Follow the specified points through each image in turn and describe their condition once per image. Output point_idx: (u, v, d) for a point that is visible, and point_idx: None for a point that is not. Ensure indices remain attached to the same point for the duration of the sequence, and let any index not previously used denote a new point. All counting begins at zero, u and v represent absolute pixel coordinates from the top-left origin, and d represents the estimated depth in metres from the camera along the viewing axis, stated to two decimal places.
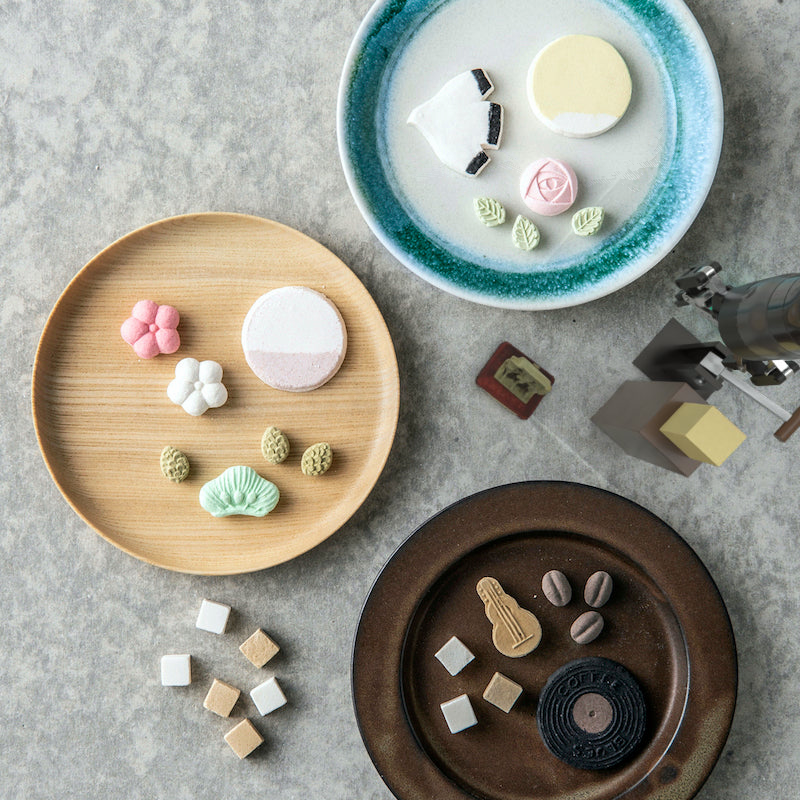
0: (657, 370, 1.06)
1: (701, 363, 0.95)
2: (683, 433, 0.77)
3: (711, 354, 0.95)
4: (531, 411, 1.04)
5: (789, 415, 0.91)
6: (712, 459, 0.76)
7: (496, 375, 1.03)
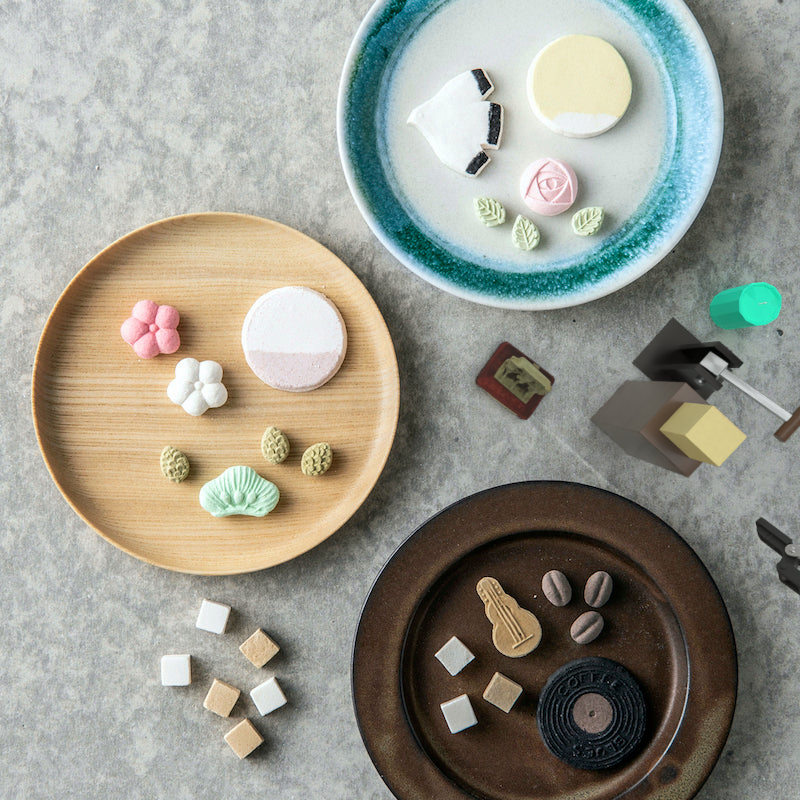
0: (657, 370, 1.06)
1: (701, 363, 0.95)
2: (683, 433, 0.77)
3: (711, 354, 0.95)
4: (531, 411, 1.04)
5: (789, 415, 0.91)
6: (712, 459, 0.76)
7: (496, 375, 1.03)
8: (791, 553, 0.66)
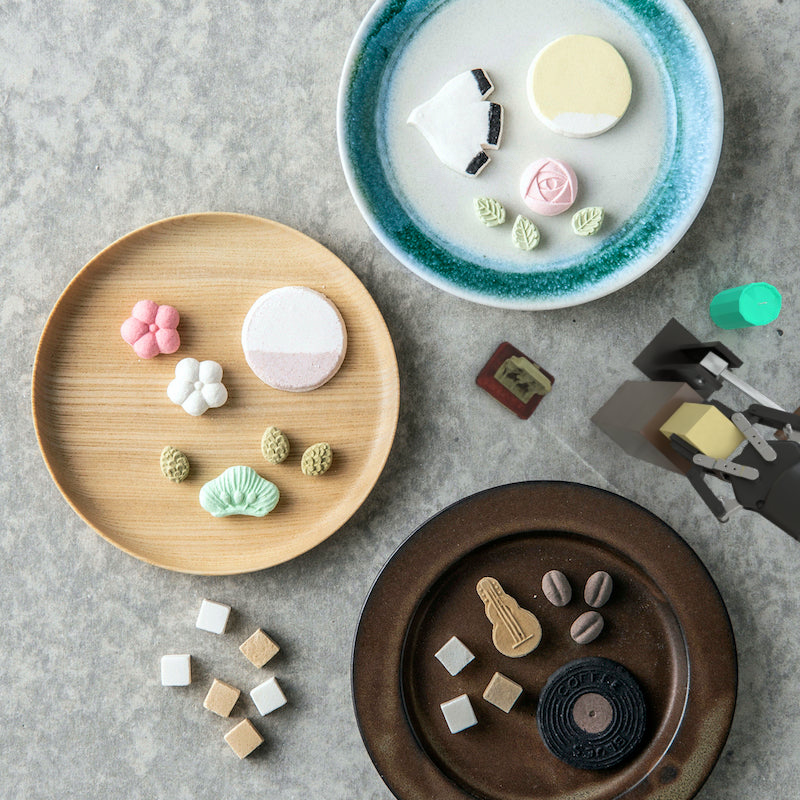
0: (657, 370, 1.06)
1: (701, 363, 0.95)
2: (683, 433, 0.77)
3: (711, 354, 0.95)
4: (531, 411, 1.04)
5: None
6: None
7: (496, 375, 1.03)
8: (698, 462, 0.76)
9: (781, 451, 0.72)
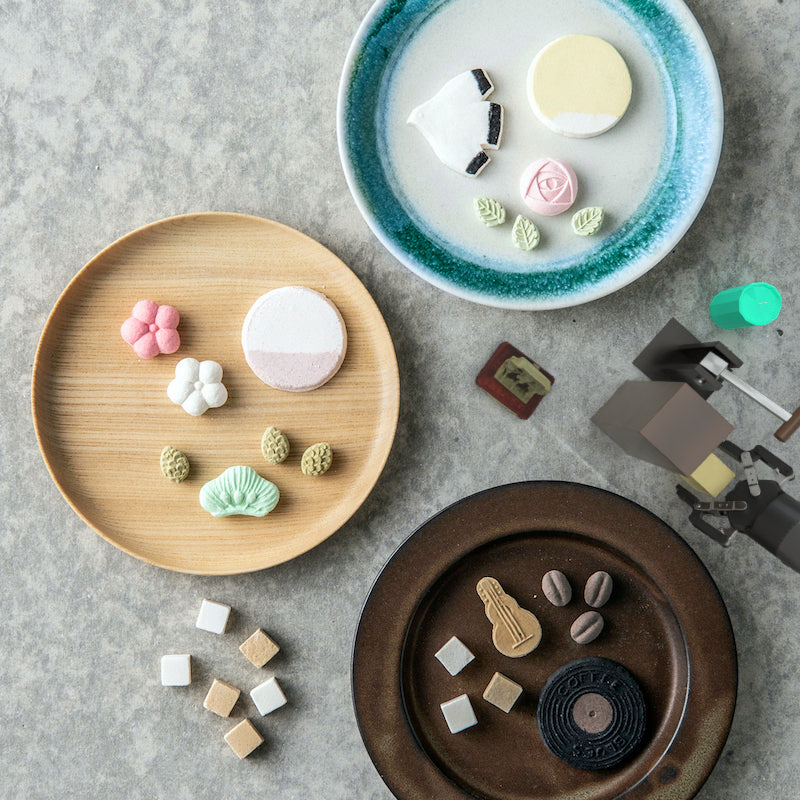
0: (657, 370, 1.06)
1: (701, 363, 0.95)
2: None
3: (711, 354, 0.95)
4: (531, 411, 1.04)
5: (789, 415, 0.91)
6: (710, 492, 1.00)
7: (496, 375, 1.03)
8: (697, 508, 0.99)
9: (764, 488, 0.96)
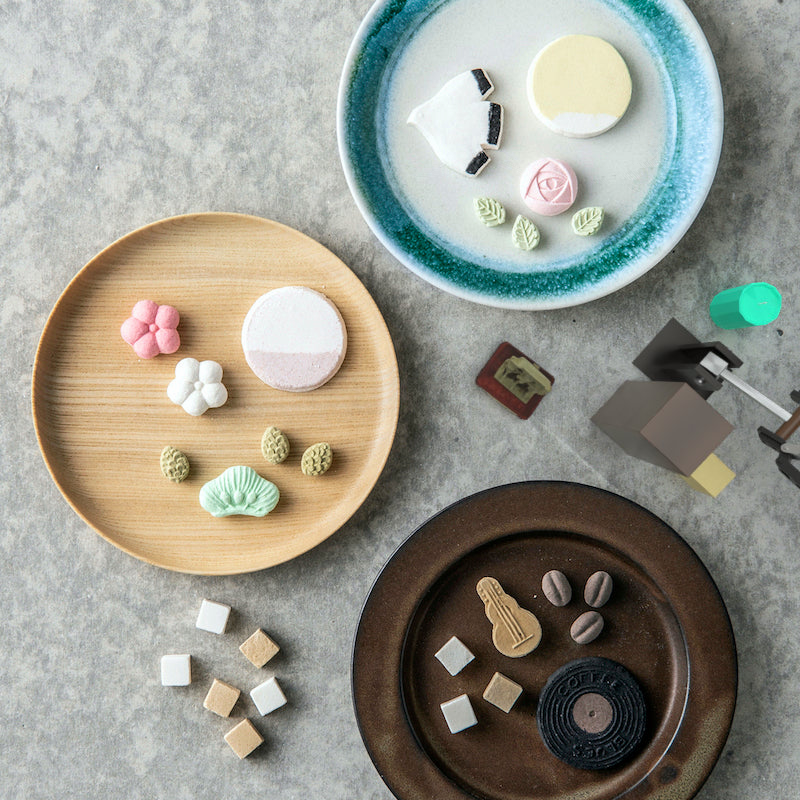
0: (657, 370, 1.06)
1: (701, 363, 0.95)
2: None
3: (711, 354, 0.95)
4: (531, 411, 1.04)
5: (789, 415, 0.91)
6: (710, 492, 1.00)
7: (496, 375, 1.03)
8: (785, 450, 0.89)
9: None
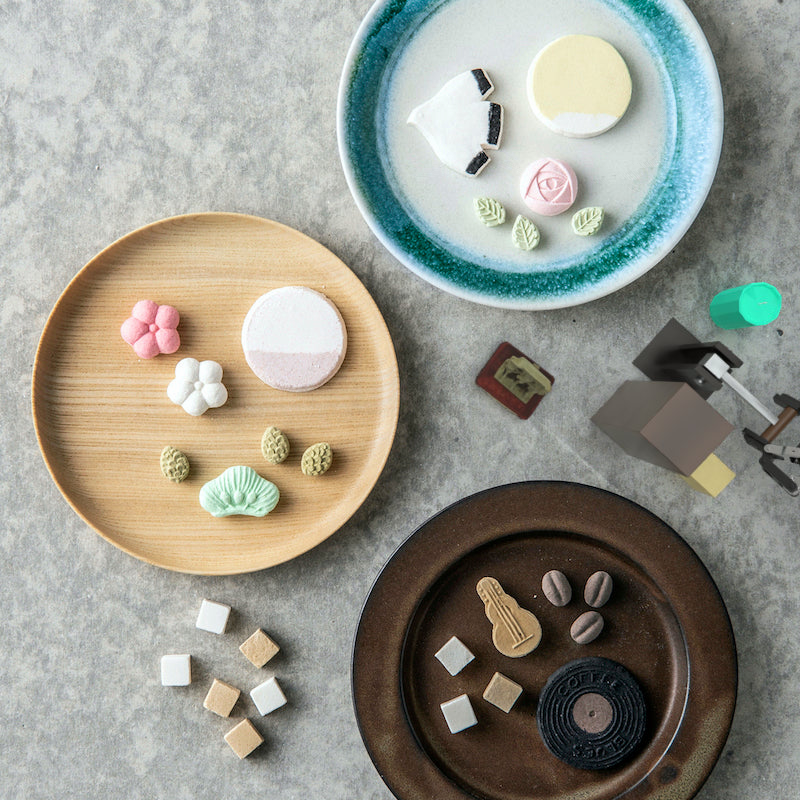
0: (657, 370, 1.06)
1: (705, 365, 0.94)
2: None
3: (715, 356, 0.94)
4: (531, 411, 1.04)
5: (776, 419, 0.96)
6: (710, 492, 1.00)
7: (496, 375, 1.03)
8: (768, 450, 0.94)
9: None
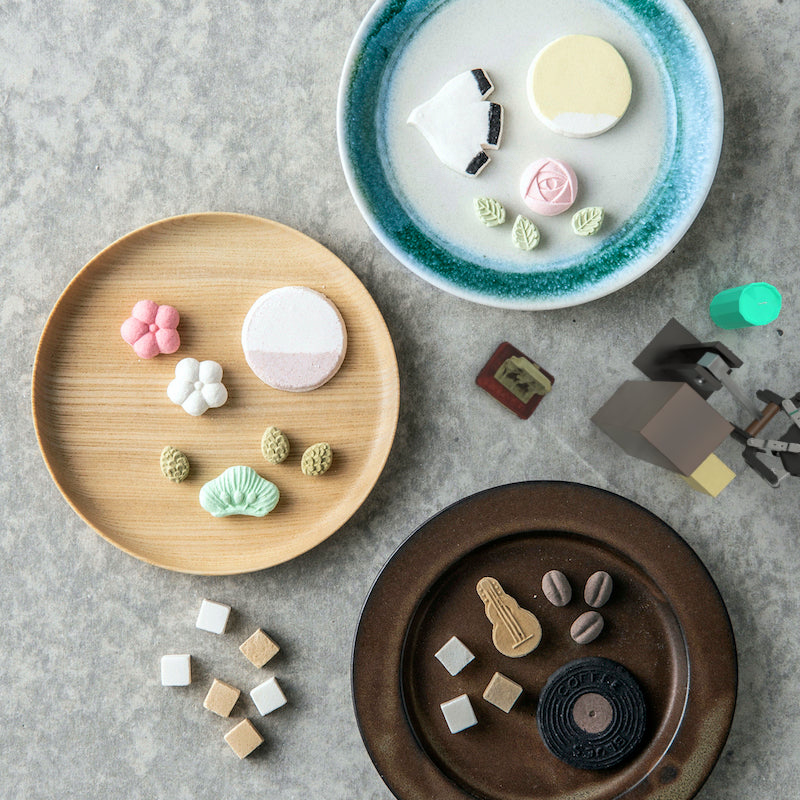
0: (657, 370, 1.06)
1: (709, 367, 0.94)
2: None
3: (718, 358, 0.94)
4: (531, 411, 1.04)
5: (762, 415, 0.99)
6: (710, 492, 1.00)
7: (496, 375, 1.03)
8: (751, 444, 0.98)
9: None
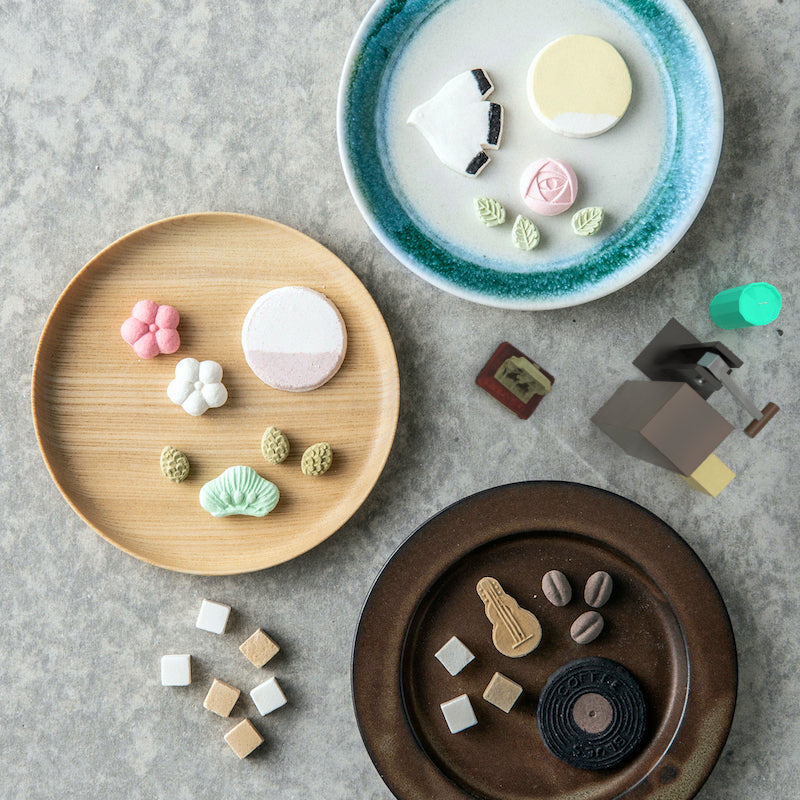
0: (657, 370, 1.06)
1: (709, 367, 0.94)
2: None
3: (718, 358, 0.94)
4: (531, 411, 1.04)
5: (761, 415, 0.99)
6: (710, 492, 1.00)
7: (496, 375, 1.03)
8: None
9: None
